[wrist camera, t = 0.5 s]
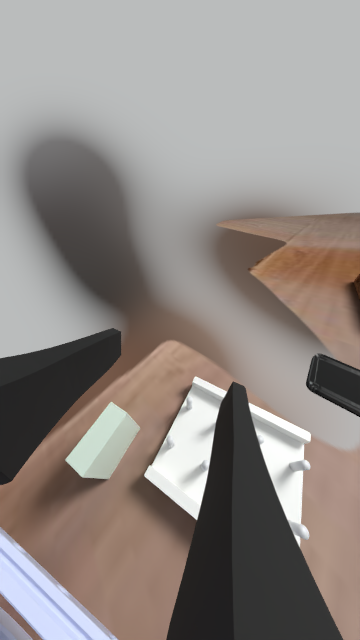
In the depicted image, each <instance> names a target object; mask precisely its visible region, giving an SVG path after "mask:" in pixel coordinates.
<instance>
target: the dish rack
mask: <svg viewBox="0 0 360 640" xmlns="http://www.w3.org/2000/svg"><path fill="white" fill-rule="evenodd" d="M226 393H227V392H226V391H224V390H222V389H220V388H218V387H216V386H214V385H212V384H210V383H208V382H206V381H204V380H202V379H200V378H198V377H196V376H195V378H194V380H193V383H192V388H191V390H190V392H189V394H188V396H187V397H186V399H185V401H184V403H183V405H182V407H181V409H180V411H179V413H178V415H177V417H176V419H175V421H174V423H173V425H172V427H171V429H170V431H169V433H168V435H167V437H166V439H165V441H164V443H163V445H162V447H161V449H160V451H159V452H158V454H157V456H156V458H155V460H154V462H153V464H152V466H150V465H149V467H148V469H147V471H146V473H145V475H144V476H145V477H146V478H147V479H149V480H150V481H151V482H152V483H153V484H154V485H156V486H157V487H158V488H159V489H160V490H162V491H163V492H164V493H165V494H166V495H168V496H169V497H170V498H171V499H172V500H174V501H175V502H176V503H177V504H178V505H179V506H181V507H182V508H183V509H184V510H185V511H187V512H188V513H189V514H190V515H191V516H193V517H194V518H195V519H196V520H197V518H198V514H199V510H200V506H201V502H202V498H203V494H204V489H205V485H206V481H207V476H208V470H209V464H210V457H211V451H212V444H213V438H214V431H215V425H216V420H217V416H218V412H219V408H220V404H221V402H222V400H223V398H224V397H225V395H226ZM249 408H250V412H251V416H252V420H253V424H254V427H255V431H256V434H257V438H258V441H259V444H260V448H261V451H262V454H263V457H264V460H265V463H266V466H267V469H268V471H269V474H270V477H271V480H272V482H273V485H274V488H275V490H276V493H277V495H278V498H279V500H280V503H281V505H282V508H283V510H284V513H285V515H286V517H287V520H288V522H289V525H290V527H291V529H292V531H293V534H294V536H295V538H296V540H297V543H298V545H299V547H300V537H301V538H303V539H305V540H307V539H308V538H309V532H308V530H307V528H306V527H305V526H304V525H301V507H302V483H303V470H309V469H310V464H309V462H308V461H306V460H303V459H304V444H306V443H309V442H310V433H309V432H307V431H305V430H303V429H301V428H299V427H297V426H295V425H293V424H291V423H289V422H287V421H285V420H283V419H281V418H279V417H277V416H275V415H273V414H271V413H269V412H267V411H265V410H263V409H261V408H259V407H257V406H254V405H252V404H250V403H249Z"/></svg>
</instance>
